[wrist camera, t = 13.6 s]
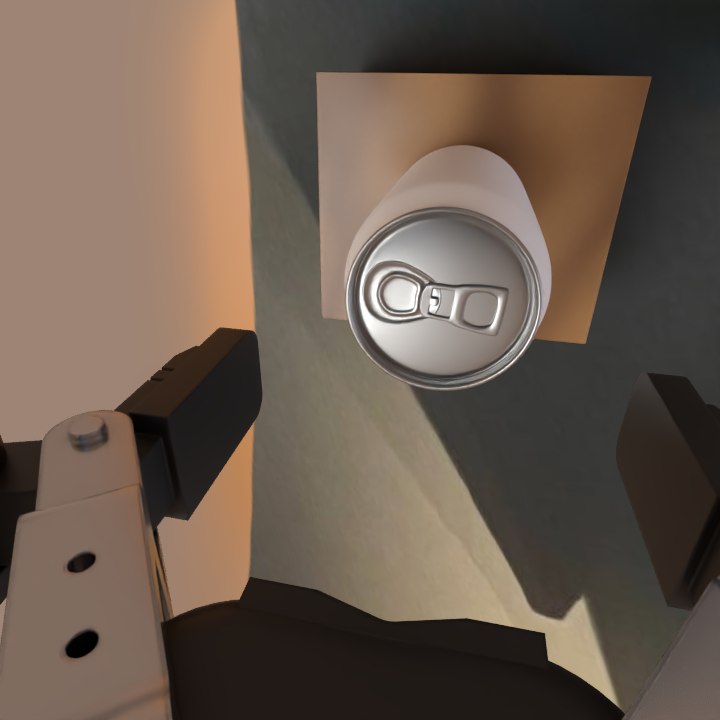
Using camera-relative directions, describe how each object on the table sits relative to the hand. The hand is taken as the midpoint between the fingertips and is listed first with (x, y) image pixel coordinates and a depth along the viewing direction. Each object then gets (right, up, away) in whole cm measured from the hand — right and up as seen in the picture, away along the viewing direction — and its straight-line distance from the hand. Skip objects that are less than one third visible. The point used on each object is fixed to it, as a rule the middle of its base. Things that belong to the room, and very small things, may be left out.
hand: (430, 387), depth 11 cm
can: (+3, +8, +14) cm, 17 cm away
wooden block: (+5, +11, +21) cm, 24 cm away
